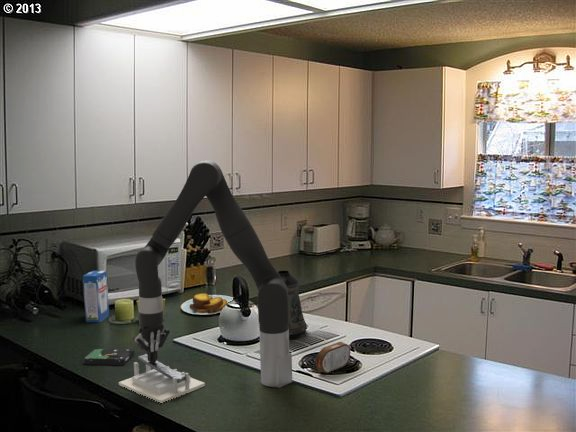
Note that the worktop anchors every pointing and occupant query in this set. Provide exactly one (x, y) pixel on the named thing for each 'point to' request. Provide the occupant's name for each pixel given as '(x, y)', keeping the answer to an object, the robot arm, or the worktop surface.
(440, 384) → the worktop surface
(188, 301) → the food on plate
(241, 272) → the worktop surface
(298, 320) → the beer stein
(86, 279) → the milk carton
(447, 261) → the worktop surface
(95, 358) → the disk drive
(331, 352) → the tin
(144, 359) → the strap
